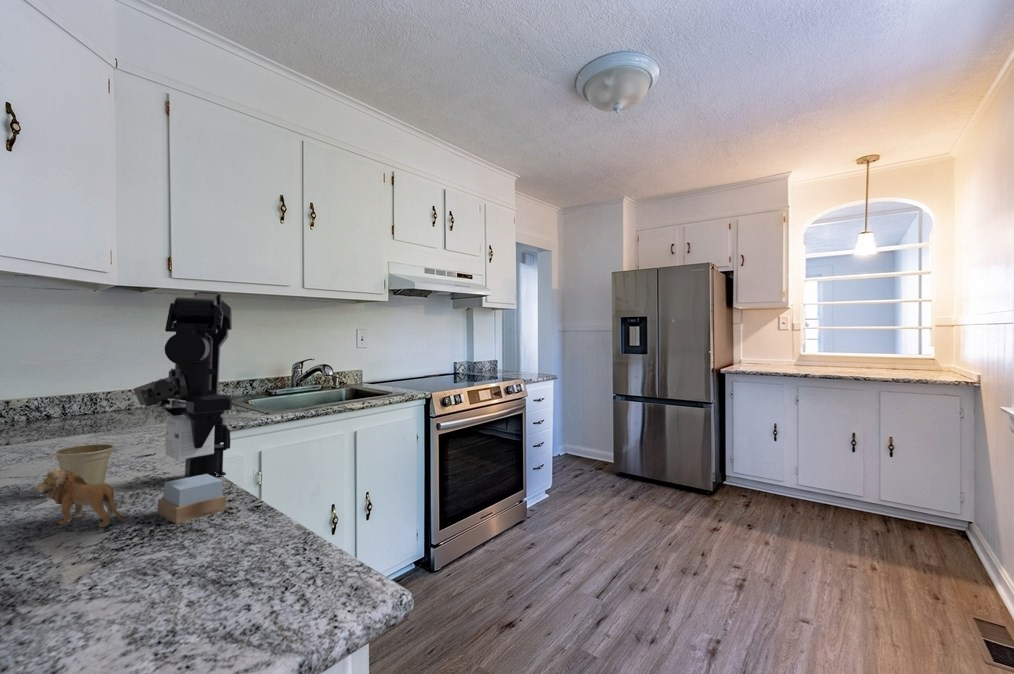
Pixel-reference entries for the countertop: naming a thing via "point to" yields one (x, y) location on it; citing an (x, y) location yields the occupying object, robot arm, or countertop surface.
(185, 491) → the top slab
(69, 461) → the flower pot
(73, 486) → the lion figurine
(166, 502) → the bottom slab
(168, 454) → the skincare box
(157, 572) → the countertop surface
